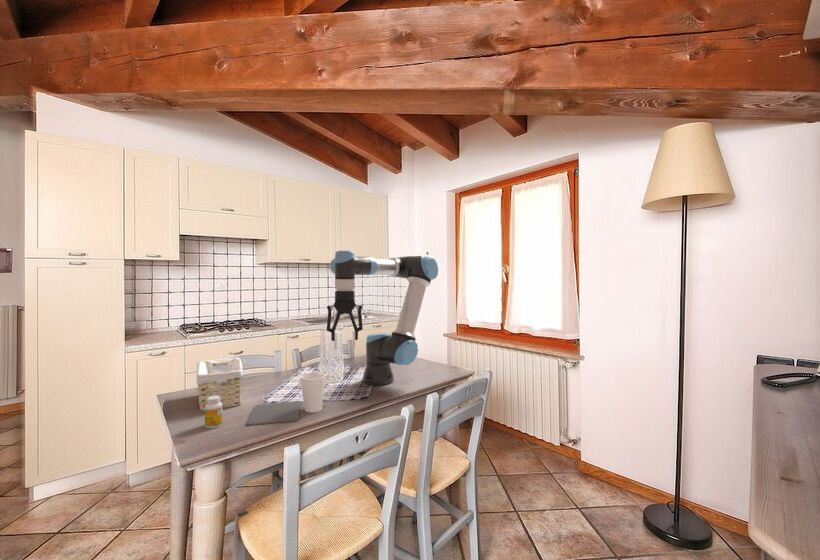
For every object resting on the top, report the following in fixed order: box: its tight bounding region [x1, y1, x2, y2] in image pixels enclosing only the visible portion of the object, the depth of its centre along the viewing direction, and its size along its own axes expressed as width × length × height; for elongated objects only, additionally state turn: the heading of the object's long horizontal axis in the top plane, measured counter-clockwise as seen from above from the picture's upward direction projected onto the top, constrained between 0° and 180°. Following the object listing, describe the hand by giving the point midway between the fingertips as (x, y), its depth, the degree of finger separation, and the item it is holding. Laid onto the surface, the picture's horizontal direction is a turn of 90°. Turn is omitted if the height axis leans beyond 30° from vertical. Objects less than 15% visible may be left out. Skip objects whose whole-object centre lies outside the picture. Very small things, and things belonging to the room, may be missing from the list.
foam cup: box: [299, 371, 327, 413], centre depth 137 cm, size 10×9×13 cm
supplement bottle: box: [204, 396, 224, 429], centre depth 123 cm, size 5×5×10 cm
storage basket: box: [196, 357, 244, 412], centre depth 147 cm, size 24×16×15 cm
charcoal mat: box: [246, 400, 302, 427], centre depth 133 cm, size 17×18×1 cm
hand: (344, 348), depth 140 cm, fingers open, 6 cm apart
